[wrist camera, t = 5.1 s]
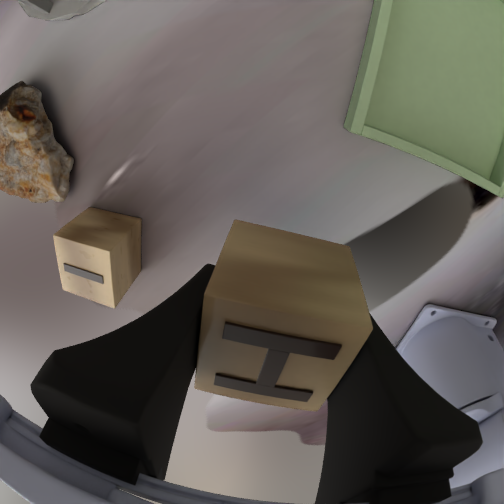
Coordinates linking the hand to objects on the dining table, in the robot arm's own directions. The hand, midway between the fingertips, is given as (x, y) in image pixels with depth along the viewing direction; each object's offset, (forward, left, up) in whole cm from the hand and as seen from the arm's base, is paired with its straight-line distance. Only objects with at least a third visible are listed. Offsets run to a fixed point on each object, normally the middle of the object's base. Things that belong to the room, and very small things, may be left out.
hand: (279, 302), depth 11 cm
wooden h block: (0, 0, -1) cm, 1 cm away
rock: (+20, -2, -9) cm, 21 cm away
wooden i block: (+12, +5, -8) cm, 15 cm away
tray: (-7, -13, -8) cm, 17 cm away
